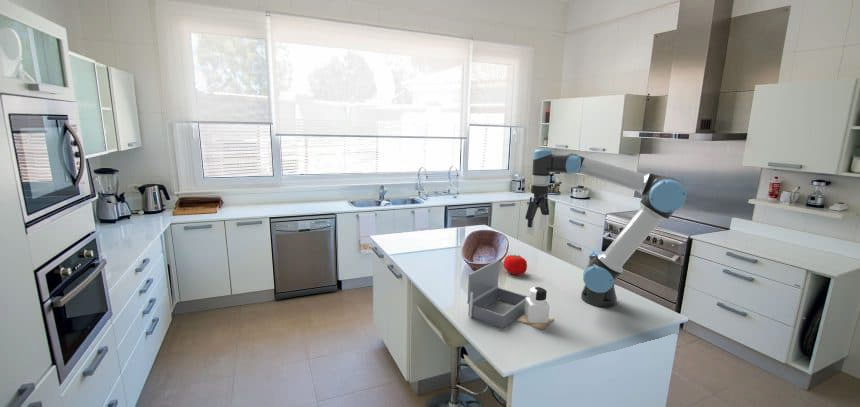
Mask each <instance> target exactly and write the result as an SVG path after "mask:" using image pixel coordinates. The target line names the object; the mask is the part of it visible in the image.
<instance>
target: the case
mask: <svg viewBox="0 0 860 407" xmlns="http://www.w3.org/2000/svg"><path fill="white" fill-rule="evenodd" d="M499 270H500V260H499V259H496V260H495V261H493V262H490V263H488V264H487V265H484V266H483V267H481V268H479V269H476V270H475V271H472V272H470V273H469V274H468V285H467V286H468V287H467V302H466V303H467V305H468V316H469V318H470V319H471V318H474V319H477V320H479V321H481V322H484V323H487V324H491V325H493V326H496V327H499V328H500V329H504V328H505V327H506V326H508V325H509V324H510V323H511V322H513V321H514V320H515V319H516V318H519V316H520V315H523V314H524V312H525V299H526V297H529V296H528V295H524V294H522V293H518V292H515V291H512V290H509V289H505V288H501V287H499V274H500V273H499V272H500V271H499ZM496 300H501V301H504V302H508V303H509V304H513V305H514V306H513V307H511V308H509V309H508V310H507V311H505V312H504V313H503V314H500V313H498V312H495V311H492V310H490V309H487V308H486V307H487V306H489V305H490V304H491V303H493V302H495V301H496Z"/></svg>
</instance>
